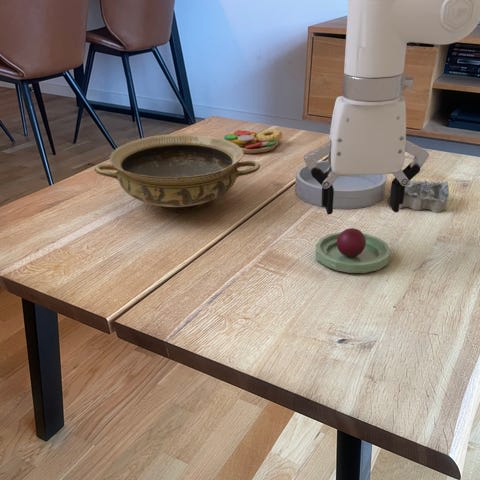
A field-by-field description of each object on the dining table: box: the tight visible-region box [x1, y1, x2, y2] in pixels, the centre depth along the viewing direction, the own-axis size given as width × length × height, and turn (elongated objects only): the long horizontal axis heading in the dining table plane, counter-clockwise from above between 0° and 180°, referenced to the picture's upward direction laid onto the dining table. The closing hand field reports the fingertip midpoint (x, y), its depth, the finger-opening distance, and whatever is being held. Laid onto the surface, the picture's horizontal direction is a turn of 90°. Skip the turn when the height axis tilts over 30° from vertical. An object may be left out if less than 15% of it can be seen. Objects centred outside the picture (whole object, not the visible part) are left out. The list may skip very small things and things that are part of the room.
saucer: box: [315, 231, 392, 274], centre depth 86 cm, size 11×11×2 cm
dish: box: [294, 160, 388, 210], centre depth 109 cm, size 17×18×4 cm
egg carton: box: [388, 180, 450, 213], centre depth 103 cm, size 11×8×4 cm
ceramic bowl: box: [94, 133, 261, 213], centre depth 103 cm, size 30×24×10 cm
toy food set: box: [223, 128, 283, 154], centre depth 134 cm, size 13×13×3 cm
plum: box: [337, 227, 366, 257], centre depth 85 cm, size 4×4×4 cm
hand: (361, 209), depth 82 cm, fingers open, 9 cm apart
